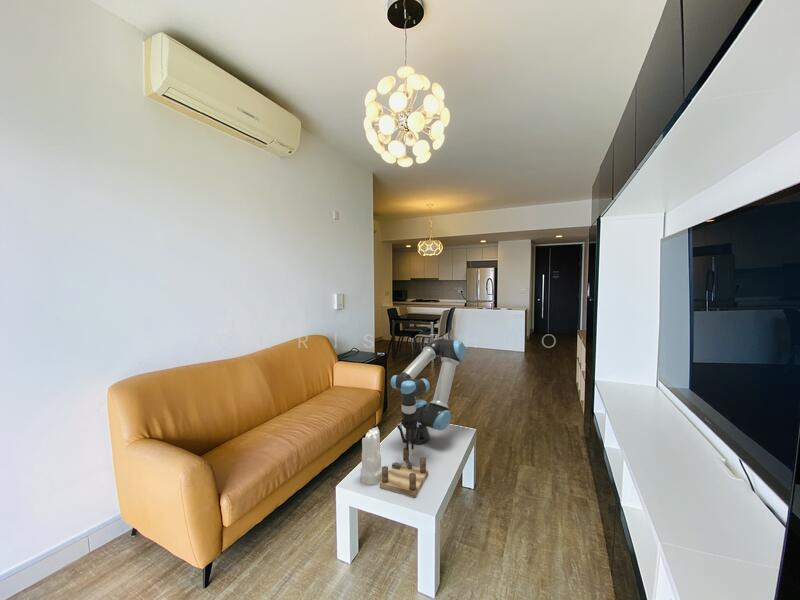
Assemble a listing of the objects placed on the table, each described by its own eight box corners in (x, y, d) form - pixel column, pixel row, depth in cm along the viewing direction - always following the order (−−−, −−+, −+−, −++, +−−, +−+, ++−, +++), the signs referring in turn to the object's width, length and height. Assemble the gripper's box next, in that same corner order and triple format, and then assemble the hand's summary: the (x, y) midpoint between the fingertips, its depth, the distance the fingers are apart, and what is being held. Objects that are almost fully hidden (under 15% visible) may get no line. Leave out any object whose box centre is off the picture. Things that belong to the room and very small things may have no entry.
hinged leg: (402, 458, 167) (402, 447, 167) (407, 457, 168) (407, 446, 167) (407, 469, 158) (407, 457, 157) (413, 468, 159) (413, 456, 158)
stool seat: (395, 466, 165) (395, 450, 164) (428, 474, 157) (428, 457, 157) (379, 487, 148) (379, 469, 148) (415, 497, 141) (415, 478, 140)
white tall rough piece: (362, 486, 149) (361, 435, 148) (359, 473, 159) (358, 425, 158) (384, 482, 152) (383, 432, 151) (380, 469, 162) (379, 422, 161)
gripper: (420, 407, 168) (421, 450, 170) (396, 408, 168) (397, 451, 169) (422, 413, 160) (423, 458, 162) (396, 414, 160) (397, 459, 162)
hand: (410, 454), depth 166 cm, fingers closed
